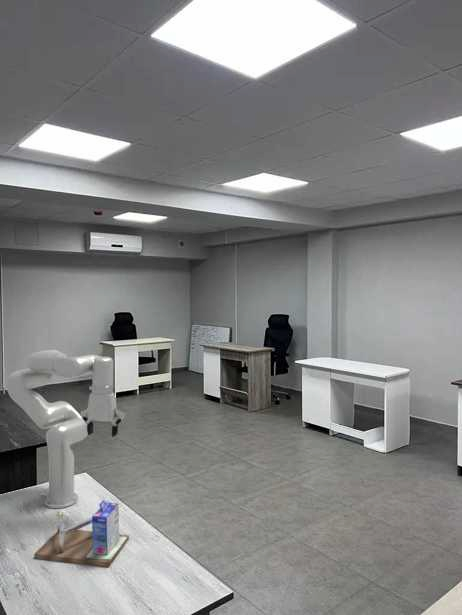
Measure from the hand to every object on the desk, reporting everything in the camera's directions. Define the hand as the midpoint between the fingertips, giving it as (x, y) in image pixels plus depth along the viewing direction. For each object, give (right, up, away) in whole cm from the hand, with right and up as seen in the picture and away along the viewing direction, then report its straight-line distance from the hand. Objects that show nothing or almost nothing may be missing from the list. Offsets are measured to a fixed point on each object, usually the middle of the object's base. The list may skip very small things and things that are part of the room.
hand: (102, 434), depth 174 cm
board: (0, -31, -23) cm, 39 cm away
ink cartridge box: (+8, -30, -24) cm, 39 cm away
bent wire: (-5, -30, -22) cm, 37 cm away
